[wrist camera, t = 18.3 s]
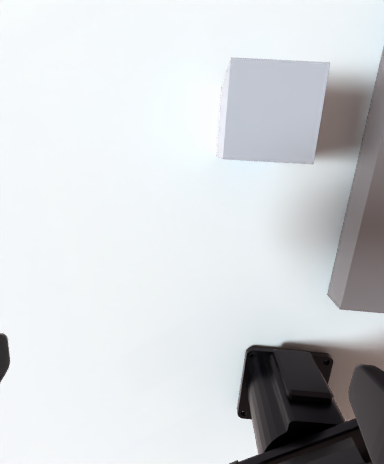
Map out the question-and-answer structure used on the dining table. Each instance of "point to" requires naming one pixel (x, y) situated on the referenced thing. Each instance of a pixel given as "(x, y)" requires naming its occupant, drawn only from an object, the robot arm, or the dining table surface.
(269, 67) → the plug
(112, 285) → the dining table surface
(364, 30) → the dining table surface
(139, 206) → the dining table surface
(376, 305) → the socket board
